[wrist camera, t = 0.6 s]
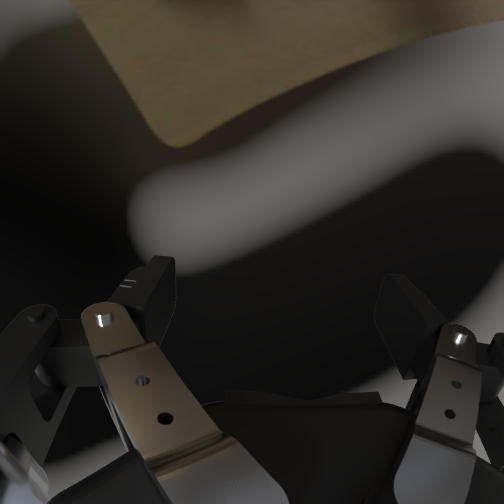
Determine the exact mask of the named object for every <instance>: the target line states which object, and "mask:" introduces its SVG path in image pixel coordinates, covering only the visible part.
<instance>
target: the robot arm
mask: <svg viewBox="0 0 504 504" xmlns="http://www.w3.org/2000/svg"><path fill="white" fill-rule="evenodd" d="M175 271H176V270H175V259H174V257H168V256H156V255H154V256H153V258H152V259H151V260H150V262H149V263H148V264H147V266H146V267H139V268H137V269H135V270H133V271H131V272H130V273H129V274H128V276H127V277H126V278H125V280H124V281H123V282H122V284H120V287H118V288H117V290H116V291H115V292H114V294H113V295H112V296H111V298H110V299H109V300H108V302H102V303H97V304H94V305H92V306H90V307H88V308H87V309H85V310H84V311H83V313H82V315H81V319H69V320H58V316H57V312H56V310H55V309H54V308H53V307H52V306H49V305H43V304H40V305H34V306H30V307H28V308H26V309H24V310H23V311H22V312H20V313H19V314H18V315H17V316H16V318H15V319H14V320H13V321H12V322H11V323H10V324H9V326H8V327H7V328H6V329H5V330H4V331H3V333H2V334H1V335H0V504H504V406H503V405H502V403H501V401H500V400H499V398H498V396H497V395H498V394H499V392H500V391H501V389H502V388H503V386H504V333H496V334H495V335H494V337H493V339H492V341H491V343H490V344H484V343H478V342H477V338H476V336H475V334H474V333H473V332H472V331H471V330H469V329H468V328H466V327H464V326H462V325H460V324H455V323H448V322H447V321H446V319H445V318H444V317H443V316H442V315H441V313H440V312H439V311H438V310H437V309H435V306H434V305H433V304H432V303H430V302H431V301H430V300H429V299H428V298H427V297H426V295H425V294H423V293H422V292H420V291H419V290H417V289H416V288H415V286H414V285H413V284H412V283H411V282H410V281H409V279H408V278H407V277H406V276H404V275H392V274H387V275H386V276H385V277H384V280H383V283H382V286H381V290H380V293H379V297H378V300H377V304H376V307H375V312H374V321H375V325H376V327H377V329H378V330H379V332H380V334H381V336H382V338H383V340H384V342H385V344H386V346H387V348H388V350H389V352H390V354H391V356H392V358H393V360H394V362H395V364H396V366H397V368H398V370H399V372H400V374H401V376H402V378H403V380H409V379H417V382H416V384H415V386H414V388H413V390H412V393H411V396H410V398H409V400H408V403H407V405H406V408H405V409H404V408H402V407H399V406H396V405H393V404H389V403H383V402H382V400H381V397H380V395H379V392H363V393H343V394H339V395H335V396H331V397H326V398H322V399H317V400H312V401H303V400H298V399H293V398H288V397H284V396H280V395H275V394H271V393H266V392H251V391H236V390H226V396H225V401H220V402H214V403H209V404H206V405H202V406H200V404H199V403H198V402H197V400H196V399H195V398H194V396H193V395H192V394H191V392H190V391H189V390H188V388H187V387H186V386H185V384H184V383H183V382H182V380H181V379H180V377H179V376H178V375H177V373H176V372H175V370H174V369H173V368H172V366H171V365H170V364H169V362H168V361H167V359H166V358H165V356H164V355H163V353H162V352H161V351H160V349H159V347H160V345H161V342H162V340H163V337H164V334H165V332H166V329H167V327H168V324H169V322H170V320H171V317H172V314H173V312H174V309H175V304H176V274H175V273H176V272H175ZM34 371H35V372H36V374H35V376H34V378H33V379H32V381H31V382H30V384H29V381H30V377H31V376H32V374H33V372H34ZM84 386H85V387H86V386H99V387H100V390H101V392H102V395H103V397H104V399H105V402H106V404H107V407H108V409H109V411H110V414H111V416H112V418H113V420H114V423H115V425H116V427H117V429H118V431H119V434H120V436H121V438H122V441H123V443H124V445H125V447H126V449H127V452H126V453H125V454H123V455H122V456H120V457H119V458H117V459H116V460H114V461H112V462H111V463H109V464H108V465H106V466H104V467H103V468H101V469H100V470H98V471H96V472H94V473H93V474H91V475H90V476H88V477H86V478H84V479H83V480H81V481H79V482H78V483H76V484H74V485H73V486H71V487H69V488H67V489H66V490H63V491H62V492H60V493H58V494H57V495H56V496H54V497H53V498H52V499H51V500H50V501H49V502H48V500H47V493H48V487H49V486H48V485H49V483H48V479H47V476H46V474H45V472H44V471H43V469H42V468H41V467H42V465H43V462H44V460H45V457H46V455H47V452H48V450H49V447H50V445H51V442H52V440H53V438H54V435H55V433H56V431H57V428H58V426H59V424H60V422H61V419H62V417H63V415H64V413H65V410H66V408H67V406H68V404H69V402H70V399H71V397H72V395H73V393H74V391H75V389H76V387H84ZM475 429H476V431H477V433H478V435H479V437H480V439H481V441H482V444H483V446H484V448H485V450H486V453H487V455H488V457H489V460H490V462H491V464H489V463H488V462H486V461H485V460H483V459H482V458H480V457H478V456H477V455H476V451H475V450H474V449H473V440H474V435H475Z"/></svg>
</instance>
